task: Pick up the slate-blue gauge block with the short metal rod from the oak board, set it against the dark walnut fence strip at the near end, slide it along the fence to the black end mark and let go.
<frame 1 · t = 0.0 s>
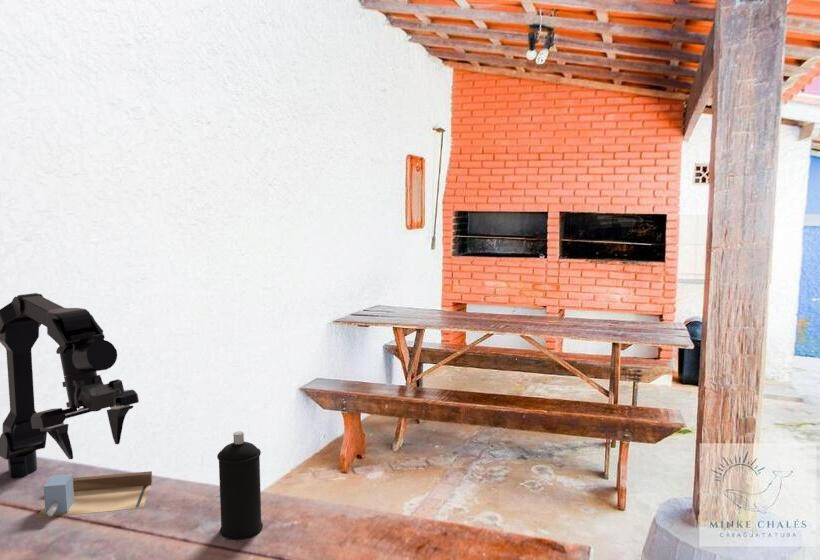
hand: (94, 451, 127), 15 cm above the table, tool pointing down, fingers open, 9 cm apart
aerosol can: (241, 530, 128), on the table
gauge block: (60, 507, 133), point 1 cm above the table, touching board
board: (97, 505, 137), on the table
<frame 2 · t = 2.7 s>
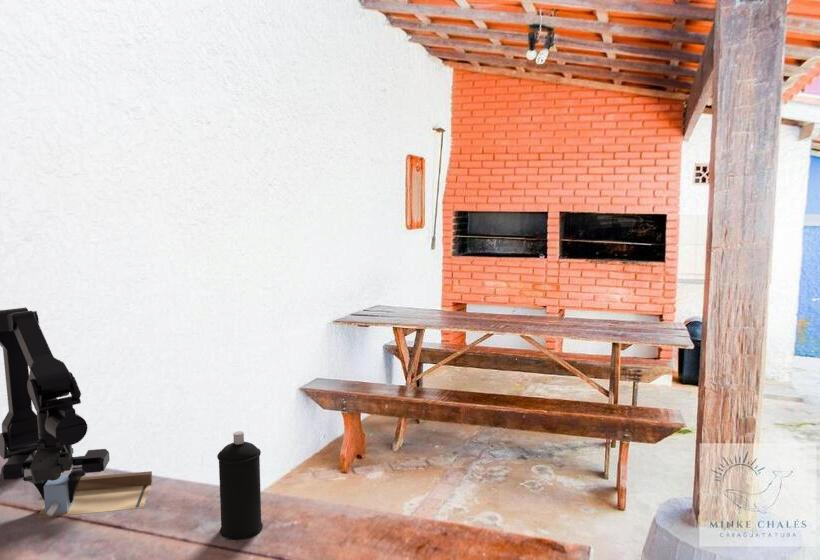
hand: (60, 503, 133), 3 cm above the table, tool pointing down, fingers closed on gauge block, 4 cm apart
gauge block: (60, 507, 133), point 1 cm above the table, touching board, gripper
everything else where it was.
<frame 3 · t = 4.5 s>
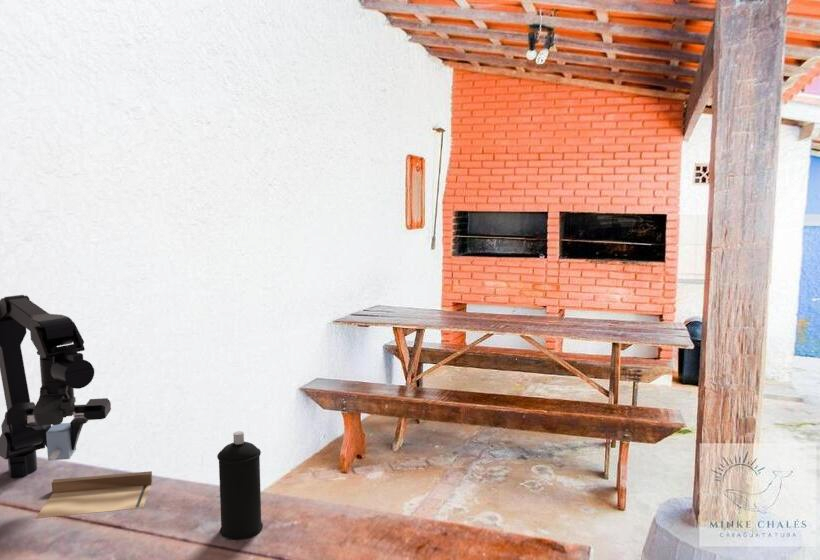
hand: (62, 450, 135), 12 cm above the table, tool pointing down, fingers closed on gauge block, 4 cm apart
gauge block: (62, 454, 135), point 11 cm above the table, touching gripper
everything else where it was.
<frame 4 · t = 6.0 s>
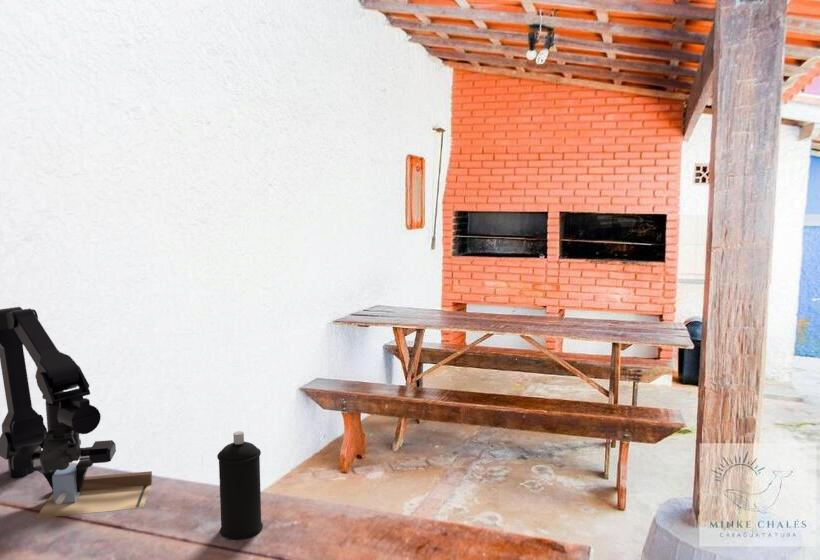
hand: (67, 492, 137), 3 cm above the table, tool pointing down, fingers closed on gauge block, 4 cm apart
gauge block: (68, 497, 137), point 2 cm above the table, touching gripper
everything else where it was.
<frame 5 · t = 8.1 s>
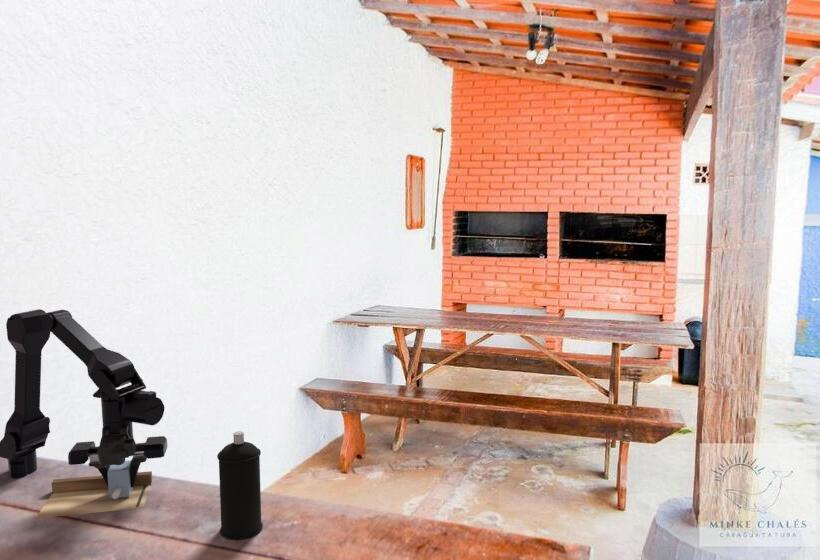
hand: (121, 487, 139), 3 cm above the table, tool pointing down, fingers closed on gauge block, 4 cm apart
gauge block: (121, 492, 139), point 2 cm above the table, touching gripper
everything else where it was.
when the fingers open (3 cm above the table, at t = 9.7 s): gauge block stays where it is, resting on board.
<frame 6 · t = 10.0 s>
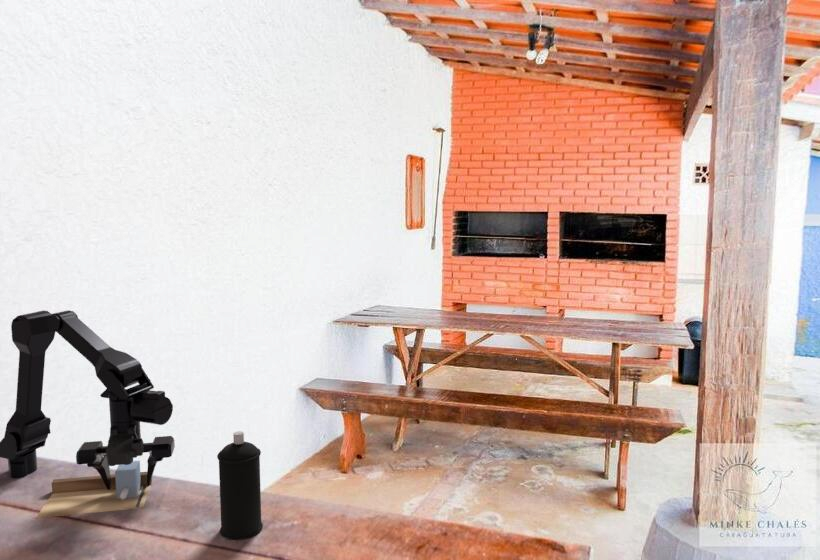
hand: (129, 487, 139), 3 cm above the table, tool pointing down, fingers open, 8 cm apart
gauge block: (129, 492, 139), point 1 cm above the table, touching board
everything else where it was.
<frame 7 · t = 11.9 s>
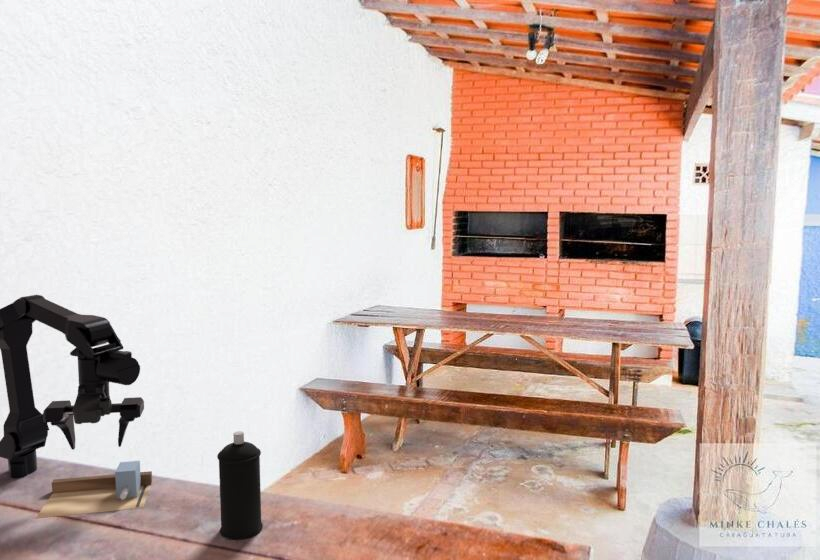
hand: (96, 447, 139), 11 cm above the table, tool pointing down, fingers open, 9 cm apart
nothing on the table moved.
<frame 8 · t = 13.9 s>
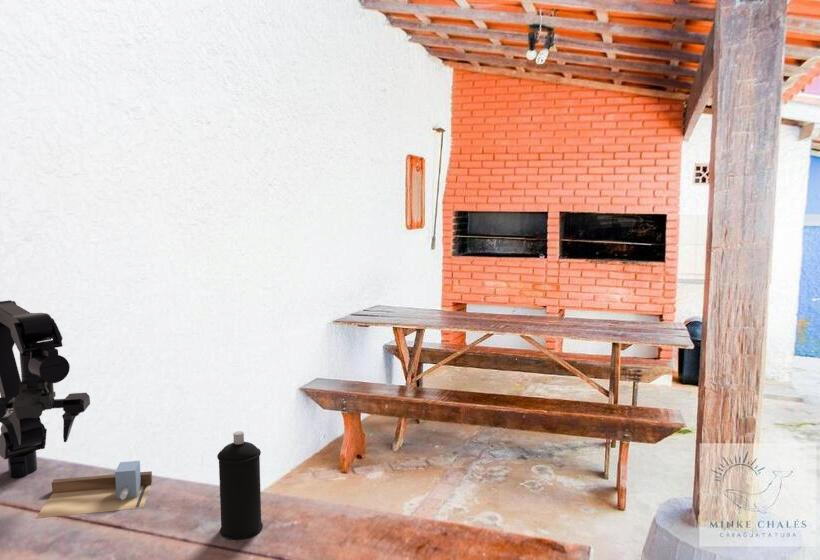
hand: (42, 443, 139), 12 cm above the table, tool pointing down, fingers open, 9 cm apart
nothing on the table moved.
at the end: gauge block 0.4 cm from the target spot, point 1.5 cm above the table; gauge block tilted 0°; the gripper is holding nothing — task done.
